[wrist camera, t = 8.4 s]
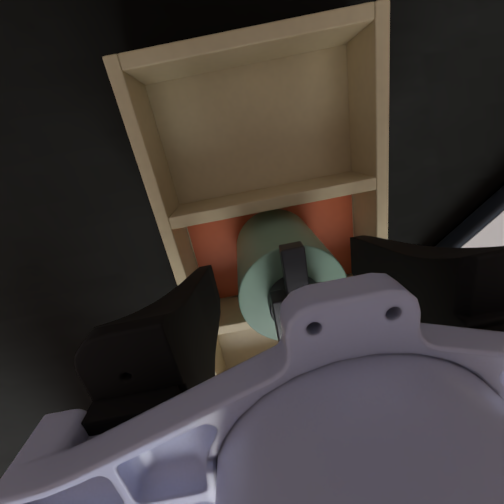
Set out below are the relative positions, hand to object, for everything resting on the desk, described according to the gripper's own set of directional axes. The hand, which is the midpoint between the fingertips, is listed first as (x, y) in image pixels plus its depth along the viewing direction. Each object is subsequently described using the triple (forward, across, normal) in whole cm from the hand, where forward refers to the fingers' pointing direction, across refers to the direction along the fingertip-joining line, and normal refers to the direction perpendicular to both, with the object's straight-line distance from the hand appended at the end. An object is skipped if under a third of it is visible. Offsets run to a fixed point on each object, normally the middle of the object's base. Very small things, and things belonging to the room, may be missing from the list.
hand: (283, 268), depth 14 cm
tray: (+4, 0, 0) cm, 4 cm away
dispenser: (+3, 0, 0) cm, 3 cm away
